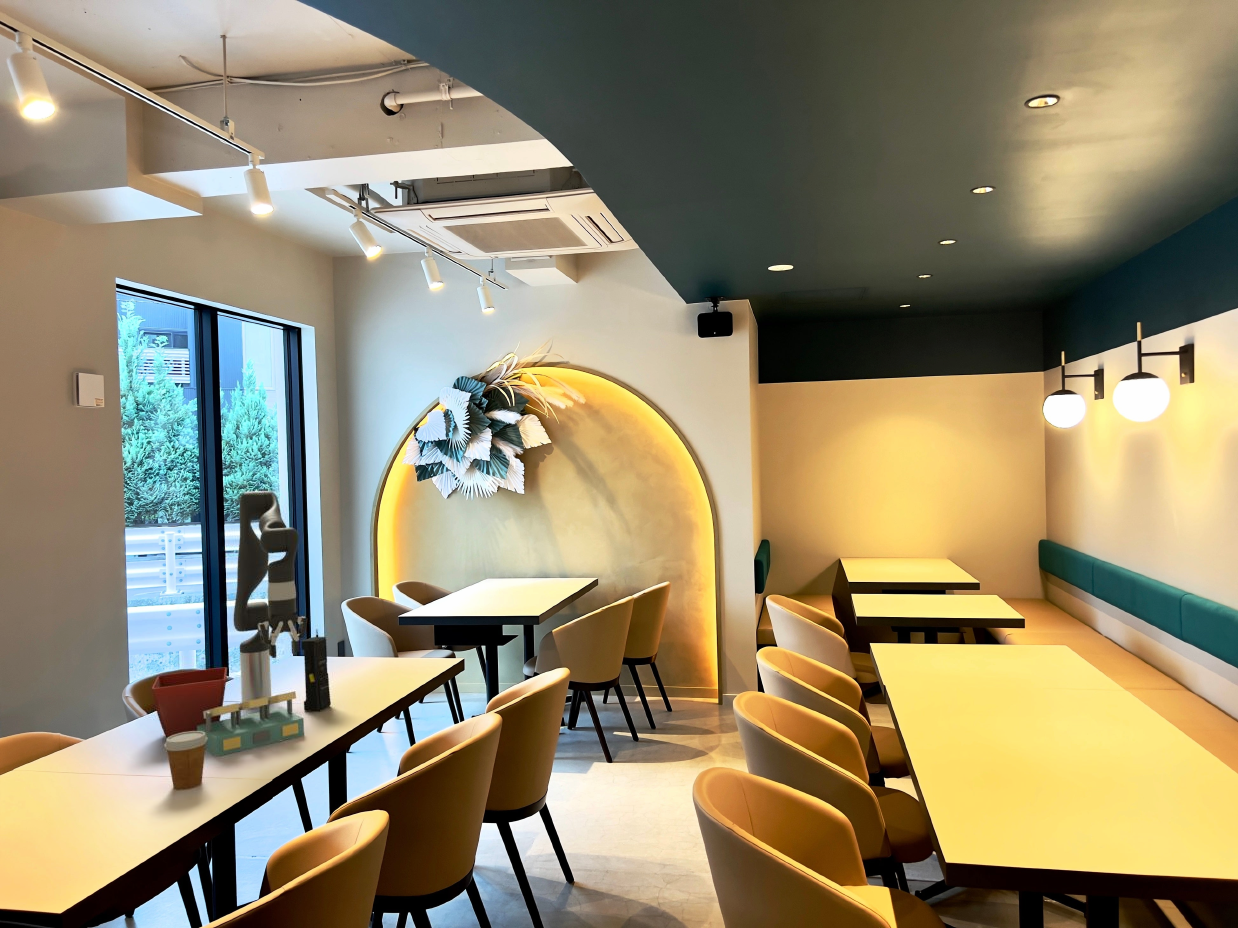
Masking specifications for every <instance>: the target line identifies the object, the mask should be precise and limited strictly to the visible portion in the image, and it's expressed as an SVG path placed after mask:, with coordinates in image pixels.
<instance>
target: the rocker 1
mask: <svg viewBox="0 0 1238 928" xmlns="http://www.w3.org/2000/svg"><path fill="white" fill-rule="evenodd" d="M238 704H239V702H238V703H231V704H227V705H223V706H222V707H217V708H214V709H210V710H206V711H203V714H204V718H206V712H210V713H211V717H213V716H218V715H221V716H223V715H226V714H231V712H235V711H239V708H238Z"/></svg>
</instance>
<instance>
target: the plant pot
mask: <svg viewBox="0 0 1238 928" xmlns="http://www.w3.org/2000/svg"><path fill="white" fill-rule="evenodd" d="M227 674H228V667H225V666H223V667H216V668H215V667H214V668H207V669H205V668H204V669H197V670H190V671H183V672H175V673H167V674H161V675H157V678H156V679H155V681H154V683H153V685H152V687H151V692H152V698H153V702H154V707H155V709H156V713H157V716H158V721H159V723H160V726H161V728H162V731H163V734H164V736H165V738H166V739H167V738H168V737H170V736H172V735H175V734H178V733H183V732H189V731H197V726H198V725H202V724H206V718H204V714H203V711H206V710H210V709H214V708H217V707H222V706H224V699H225V691H226V684H227V676H228V675H227ZM221 718H222V715H218V716H213V717H211V723H212V722H216V721H221Z"/></svg>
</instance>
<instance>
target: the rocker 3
mask: <svg viewBox="0 0 1238 928" xmlns="http://www.w3.org/2000/svg"><path fill="white" fill-rule="evenodd" d="M267 699H268V701H269V706H270V705H274V704H280V703H282V702H287V700H291V699H292V700H294V699H297V693H296V691H289V692H286V693H280V694H277V695H273V696H272V695H271V697H268V698H267Z"/></svg>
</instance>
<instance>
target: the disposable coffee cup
mask: <svg viewBox="0 0 1238 928" xmlns="http://www.w3.org/2000/svg"><path fill="white" fill-rule="evenodd" d="M207 739H208V738H207V737H206V734H205V732H202V731H189V732H183V733H178V734H175V735H172V736H170V737H168V738H166V740H165V743H164V745H163V746H164V747H165V749H166V752H167V753H166V754H167V757H168V759H167V760H168V764H169V769H170V775H171V781H172V787H173V789H174V790H179V789H182V790H188V789H193V788H196V787H198V786H200V785H202V783H203V774H204V763H205V754H206V753H205V752H206V749H205V744H206V741H207ZM195 786H196V787H195Z"/></svg>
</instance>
